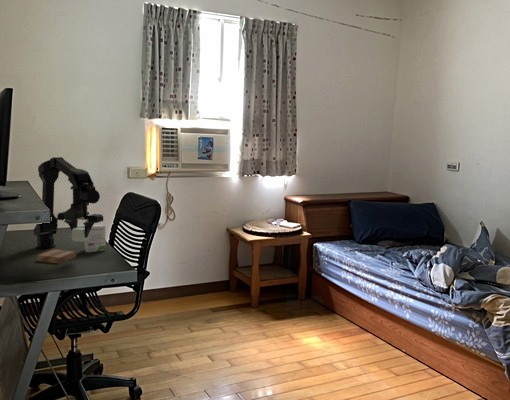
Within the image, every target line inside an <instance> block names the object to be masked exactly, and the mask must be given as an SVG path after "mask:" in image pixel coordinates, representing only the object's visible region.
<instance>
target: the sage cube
mask: <svg viewBox="0 0 510 400" xmlns="http://www.w3.org/2000/svg"><path fill="white" fill-rule="evenodd" d="M86 240H89V235H88V237H87V238H85V226H77V228H74V229H72V231H71V242H79V243H80V242H81V243H83V242H85V241H86Z"/></svg>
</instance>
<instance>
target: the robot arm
mask: <svg viewBox="0 0 510 400" xmlns="http://www.w3.org/2000/svg"><path fill="white" fill-rule="evenodd" d="M37 170H38V177H39V178H40V180H41V181H42V188H41V189H42V193H41V194H42V195H41V196H42V198H41V202H42V201H43V202H44V204H45V205H46V206H47V207H48V208H49V209H50V211H51V217H52V221H51V222H50V223H42V224H36V225H35V226H34V228H33V229H32V230H33V235H34V236H36V239H37V240H36V242H37V244H36V245H37V246H34V248H35V249H42V250H49V249H53V248H54V247H56V244H55V238H54V235H57V231H58V226H59V224H58V221H63V222H64V223H66V225H67V224H68V226H69V228H70V230H71V232H72V229H74V228H77V227H78V221H79V220H82V221H83V220H84V221H85V222H83V226H84V228H85V238H87V237H88V235H89V232H90V230H91V228H92V226H93V225H95V224H96V223H97V224H98V223H100V222H104V216H103V214H99V213H94V214H90V212H89V211H88V206H89V205H90V204H93V205H94V204H96V203H98V202H99V201H100V198H101V196H100V193H99V191H98V190H97V189H96V187H95V185H94V182H93V181H94V180H93V179H92V177H91V175H90V173H89V172H88V170H85V169H81V168H76V167H75V166H73V165H72V164H71V163H70V162H68V161H67V160H65V158H63V156H58V157H51V158H50V159H49V160H46V161H44V162H42V163H40V165H38V167H37ZM60 173H63V174H64V175H65V176H66V177H67V178H68V179H67V181H68V182H69V183H70V184H71V186H70V190H72V203H71V204H70V208H68V209H67V210H66V211H61V212H58V214H57V215H56V216H55V213H54V205H55V204H54V201H55V199H54V198H55V183H56V182H57V180H58V178H59V174H60Z"/></svg>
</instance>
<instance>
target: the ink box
mask: <svg viewBox="0 0 510 400" xmlns="http://www.w3.org/2000/svg"><path fill="white" fill-rule="evenodd" d="M106 249H107V248H106V226H105V225H104V224H94V225H93V226H92V228H91V230H90V232H89V240H86V241H84V251H85V253H95V252H105V251H107V250H106Z"/></svg>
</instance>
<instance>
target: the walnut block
mask: <svg viewBox="0 0 510 400" xmlns="http://www.w3.org/2000/svg"><path fill="white" fill-rule="evenodd" d="M36 257H37V262H42V263H50V264H51V263H52V264H63V263H65V262H67V261H70V260H72V259H75V258H77V251H76V250H75V251H73V250H65V249H58V248H57V249H55V248H54V249H53V248H52V249H51V250H48V251H45V252H42V253H38V254H37V255H36Z"/></svg>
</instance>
